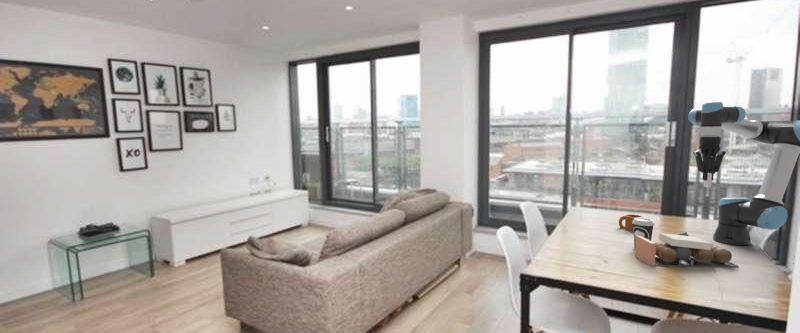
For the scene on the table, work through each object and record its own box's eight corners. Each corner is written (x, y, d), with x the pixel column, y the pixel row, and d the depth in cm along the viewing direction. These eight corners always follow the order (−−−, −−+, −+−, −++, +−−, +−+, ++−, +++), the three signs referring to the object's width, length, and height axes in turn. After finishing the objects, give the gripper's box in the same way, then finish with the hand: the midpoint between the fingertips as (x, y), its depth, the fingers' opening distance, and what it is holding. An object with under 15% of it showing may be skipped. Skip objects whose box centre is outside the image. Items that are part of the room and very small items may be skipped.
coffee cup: (656, 252, 191) (658, 222, 189) (635, 251, 193) (636, 221, 191) (648, 246, 200) (649, 217, 199) (628, 245, 202) (629, 217, 201)
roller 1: (648, 253, 184) (652, 241, 183) (662, 256, 183) (665, 244, 183) (661, 260, 174) (664, 247, 173) (675, 263, 173) (678, 250, 173)
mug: (620, 227, 239) (621, 212, 238) (643, 230, 231) (644, 215, 230) (617, 230, 232) (617, 215, 231) (640, 233, 224) (641, 218, 223)
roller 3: (683, 254, 182) (686, 241, 182) (696, 256, 182) (699, 244, 181) (697, 261, 173) (700, 248, 172) (711, 263, 172) (715, 250, 172)
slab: (695, 243, 181) (696, 237, 181) (710, 250, 172) (711, 243, 171) (659, 239, 183) (660, 232, 182) (672, 245, 173) (673, 239, 172)
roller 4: (701, 255, 182) (701, 243, 181) (715, 255, 181) (715, 242, 181) (716, 263, 172) (717, 249, 171) (731, 263, 171) (732, 249, 171)
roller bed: (715, 256, 183) (715, 253, 183) (738, 267, 169) (738, 263, 169) (638, 255, 186) (638, 252, 186) (655, 266, 172) (655, 262, 172)
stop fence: (639, 256, 186) (640, 235, 185) (654, 265, 173) (655, 243, 172) (634, 256, 186) (635, 235, 185) (650, 265, 173) (651, 243, 172)
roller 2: (672, 255, 183) (661, 249, 183) (679, 244, 182) (668, 238, 182) (686, 262, 173) (674, 256, 173) (694, 251, 172) (681, 244, 172)
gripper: (719, 135, 184) (716, 186, 186) (689, 136, 185) (687, 186, 187) (731, 136, 176) (728, 188, 178) (700, 136, 177) (697, 188, 179)
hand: (707, 187), depth 183 cm, fingers closed
